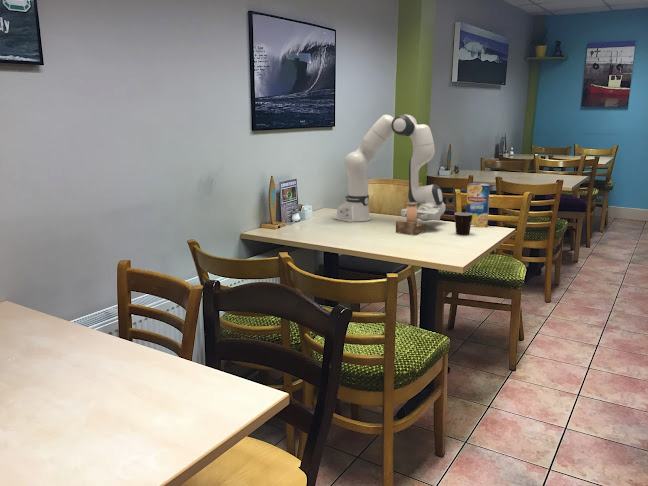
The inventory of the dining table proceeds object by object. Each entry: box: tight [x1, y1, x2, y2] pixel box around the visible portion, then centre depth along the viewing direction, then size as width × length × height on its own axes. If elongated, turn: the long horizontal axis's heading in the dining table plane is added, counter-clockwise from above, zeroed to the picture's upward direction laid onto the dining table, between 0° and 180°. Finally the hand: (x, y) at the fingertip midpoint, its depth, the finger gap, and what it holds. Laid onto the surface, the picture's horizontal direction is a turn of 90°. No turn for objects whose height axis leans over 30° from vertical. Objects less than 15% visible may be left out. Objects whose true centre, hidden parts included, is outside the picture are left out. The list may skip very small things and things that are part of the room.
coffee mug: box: [454, 212, 473, 236], centre depth 267 cm, size 12×9×10 cm
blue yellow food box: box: [465, 182, 491, 228], centre depth 286 cm, size 7×11×22 cm, turn 70°
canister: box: [405, 201, 418, 224], centre depth 274 cm, size 6×6×15 cm
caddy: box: [395, 220, 427, 236], centre depth 274 cm, size 11×10×6 cm
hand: (412, 216), depth 274 cm, fingers open, 8 cm apart
